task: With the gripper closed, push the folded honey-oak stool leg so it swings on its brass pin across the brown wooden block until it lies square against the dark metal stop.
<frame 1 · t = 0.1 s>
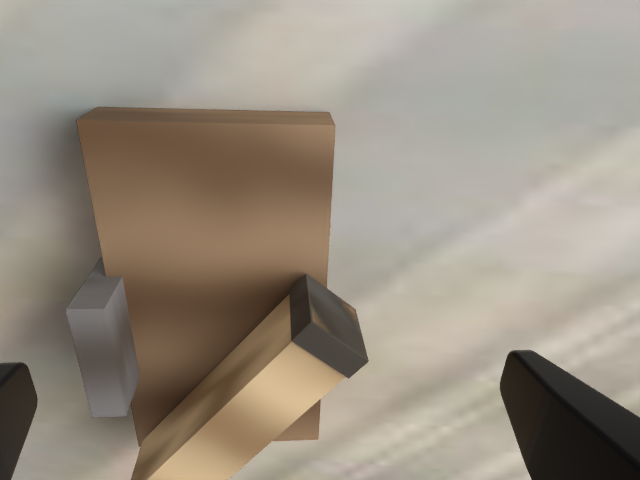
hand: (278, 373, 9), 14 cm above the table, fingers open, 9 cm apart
brown wooden block: (226, 283, 25), on the table
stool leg: (239, 406, 22), point 5 cm above the table, hinge at -40.0°
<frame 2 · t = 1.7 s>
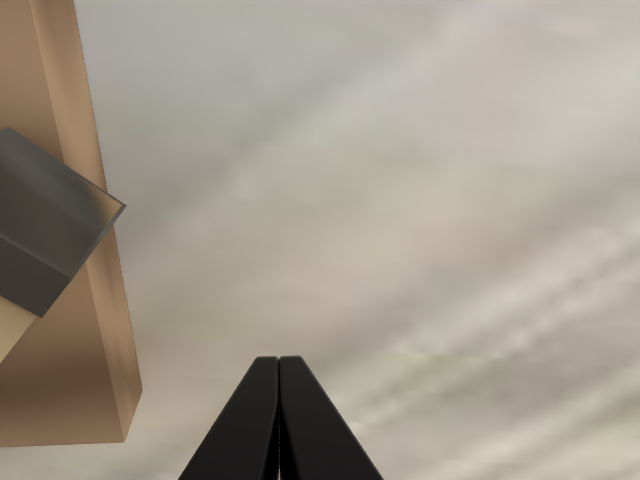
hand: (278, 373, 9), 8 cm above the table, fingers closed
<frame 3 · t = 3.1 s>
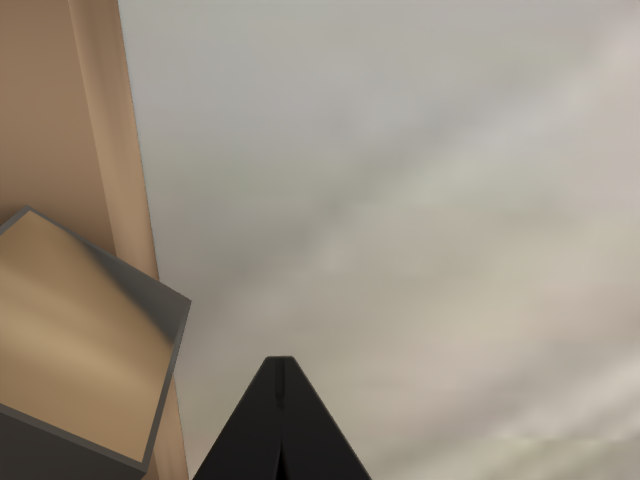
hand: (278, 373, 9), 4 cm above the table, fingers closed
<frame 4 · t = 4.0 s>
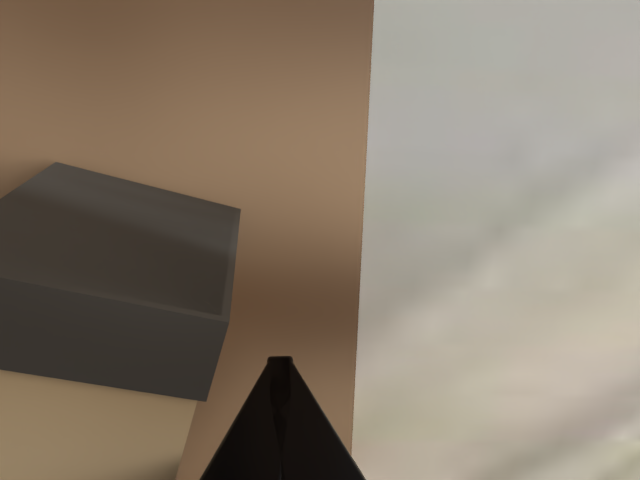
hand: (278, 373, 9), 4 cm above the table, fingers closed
brown wooden block: (148, 283, 12), on the table
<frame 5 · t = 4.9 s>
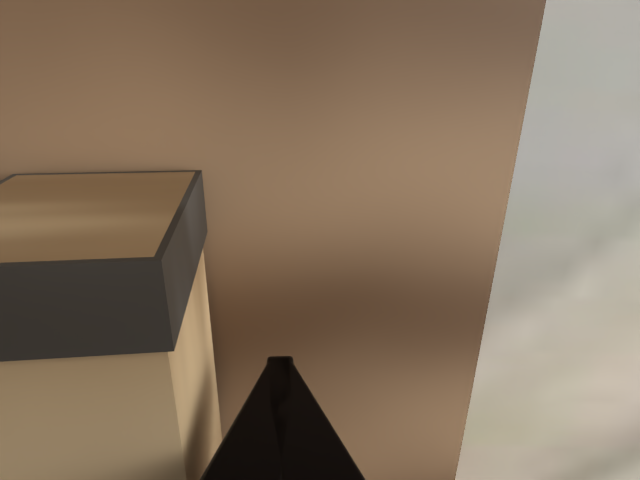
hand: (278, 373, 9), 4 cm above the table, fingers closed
brown wooden block: (265, 289, 13), on the table
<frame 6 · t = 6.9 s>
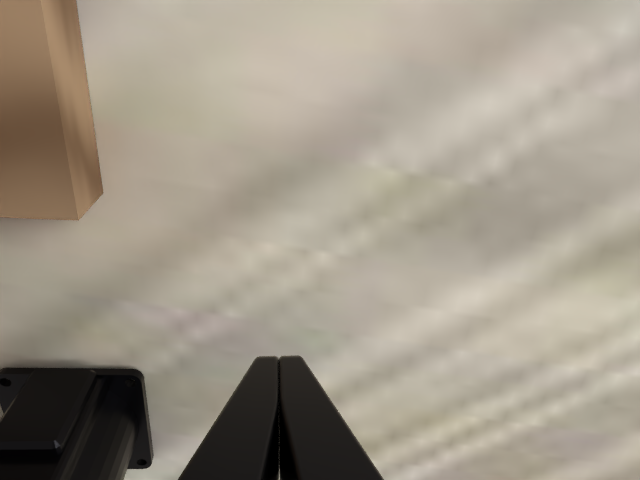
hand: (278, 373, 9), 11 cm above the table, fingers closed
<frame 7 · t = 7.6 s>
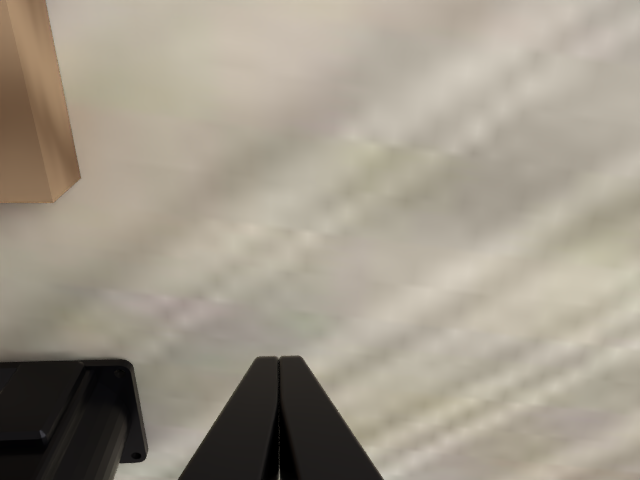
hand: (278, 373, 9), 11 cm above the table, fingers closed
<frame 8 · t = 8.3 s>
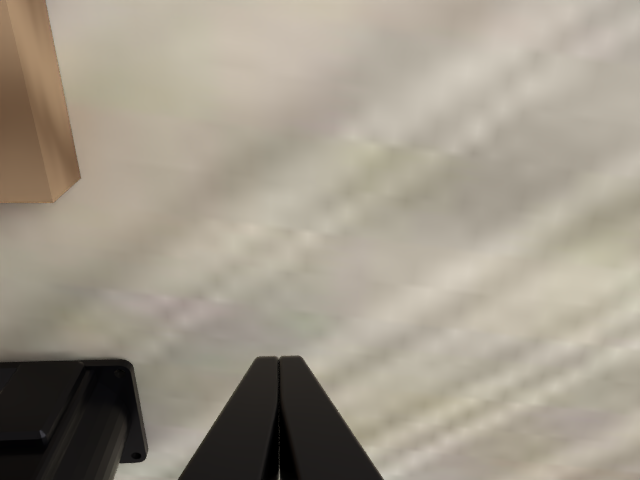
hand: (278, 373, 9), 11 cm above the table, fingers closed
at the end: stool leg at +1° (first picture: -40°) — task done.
